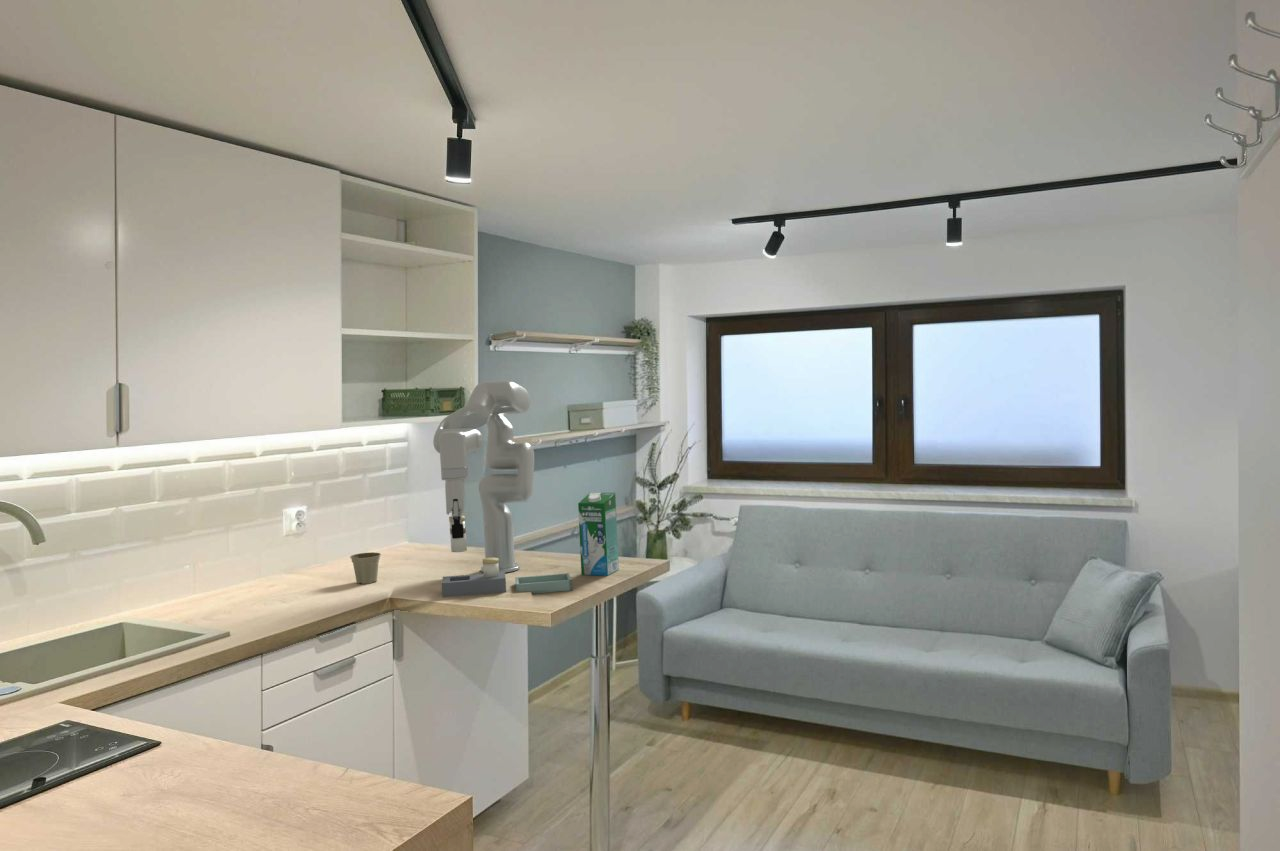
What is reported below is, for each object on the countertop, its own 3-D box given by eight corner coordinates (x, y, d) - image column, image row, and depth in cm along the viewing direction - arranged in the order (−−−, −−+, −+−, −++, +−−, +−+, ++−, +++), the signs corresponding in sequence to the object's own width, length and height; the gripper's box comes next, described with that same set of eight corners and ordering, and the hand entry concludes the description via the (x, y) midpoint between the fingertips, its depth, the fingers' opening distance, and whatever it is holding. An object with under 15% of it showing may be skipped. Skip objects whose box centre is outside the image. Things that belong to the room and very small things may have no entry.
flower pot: (388, 581, 282) (386, 554, 282) (361, 586, 275) (359, 559, 275) (372, 577, 288) (371, 551, 288) (345, 583, 281) (344, 556, 281)
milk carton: (581, 574, 279) (577, 495, 278) (593, 568, 287) (589, 492, 286) (607, 575, 275) (603, 495, 274) (618, 569, 284) (615, 492, 283)
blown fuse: (451, 549, 259) (449, 516, 258) (467, 548, 260) (465, 514, 259) (450, 552, 254) (448, 518, 254) (467, 551, 255) (464, 517, 255)
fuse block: (443, 593, 261) (442, 559, 260) (505, 588, 264) (504, 555, 263) (442, 600, 252) (440, 565, 252) (506, 595, 255) (504, 561, 255)
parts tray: (515, 587, 265) (515, 577, 265) (569, 583, 268) (568, 573, 268) (517, 594, 255) (516, 584, 255) (572, 590, 258) (571, 580, 258)
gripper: (442, 471, 263) (446, 532, 265) (439, 478, 247) (443, 542, 248) (468, 469, 265) (471, 530, 266) (467, 476, 248) (471, 540, 249)
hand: (458, 535), depth 257 cm, fingers closed on blown fuse, 4 cm apart
